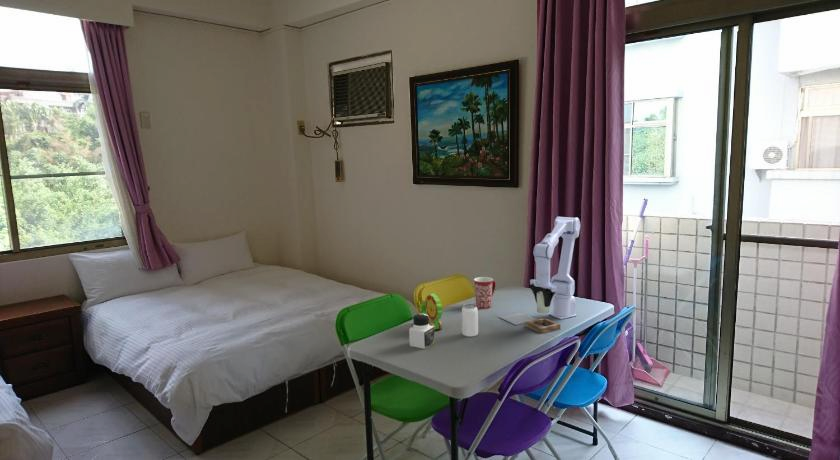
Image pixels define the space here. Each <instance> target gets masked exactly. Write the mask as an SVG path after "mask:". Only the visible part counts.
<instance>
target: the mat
mask: <svg viewBox="0 0 840 460" xmlns="http://www.w3.org/2000/svg"><path fill="white" fill-rule="evenodd" d="M498 317H499V319H501V320H503V321H505V322H508V323H510V324H511V325H514V326H519V325H520V326H521V325H524V324H525V325H526V322H527V321H532V320H536V319H537V318H535V317H533V316H531V315H528V314H526V313H523V312H522V311H521V312H515V313H511V314H507V315H501V316H498Z"/></svg>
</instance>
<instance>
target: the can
mask: <svg viewBox="0 0 840 460" xmlns="http://www.w3.org/2000/svg"><path fill="white" fill-rule="evenodd" d="M478 309H479V308H477V306H476V304H473V303H465V304H463V305H462V308H461V330H462V331H461V332H462V335H463V336H464V337H468V338H471V337H472V338H473V337H477V336H478V334H479V310H478Z"/></svg>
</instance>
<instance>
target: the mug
mask: <svg viewBox="0 0 840 460" xmlns="http://www.w3.org/2000/svg"><path fill="white" fill-rule="evenodd" d="M473 281H474V282H473V283H474V293H475V295H474V296H475V305H476V306H477V309H482V310H484V309H485V310H486V309H490V308H492V306H493V305H492V301H493V295H494V294H495V289H496V281H495V280H494V279H493V277H489V276H480V277H475V278H473Z"/></svg>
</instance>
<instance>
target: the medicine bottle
mask: <svg viewBox="0 0 840 460" xmlns="http://www.w3.org/2000/svg"><path fill="white" fill-rule="evenodd" d="M426 314H427V313H426ZM426 314H421V313H418V314H415V315H413V317H412V318H413V319H412V320H413V326H411V327H410V328H409V329H408V333H409V334H408V337H409V347H413V348H417V349H423V350H426V349H428V348H429V347H430V346H432V345H434V344H435V330H434V326H430V325H429V316H428V315H426Z"/></svg>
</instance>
